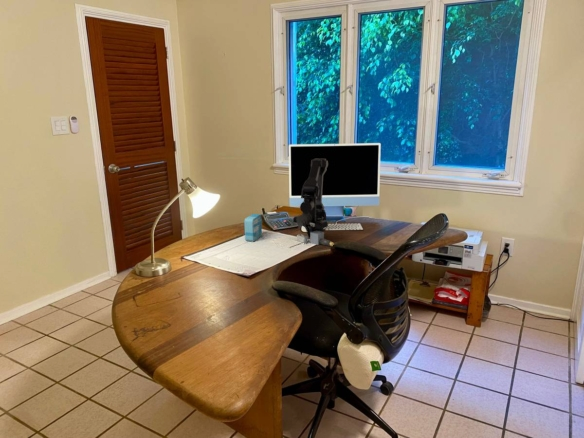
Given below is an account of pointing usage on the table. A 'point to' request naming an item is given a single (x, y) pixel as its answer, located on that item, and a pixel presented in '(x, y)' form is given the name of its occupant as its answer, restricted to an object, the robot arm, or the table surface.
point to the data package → (253, 227)
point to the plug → (319, 238)
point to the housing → (302, 238)
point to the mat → (285, 242)
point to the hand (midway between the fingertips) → (310, 237)
